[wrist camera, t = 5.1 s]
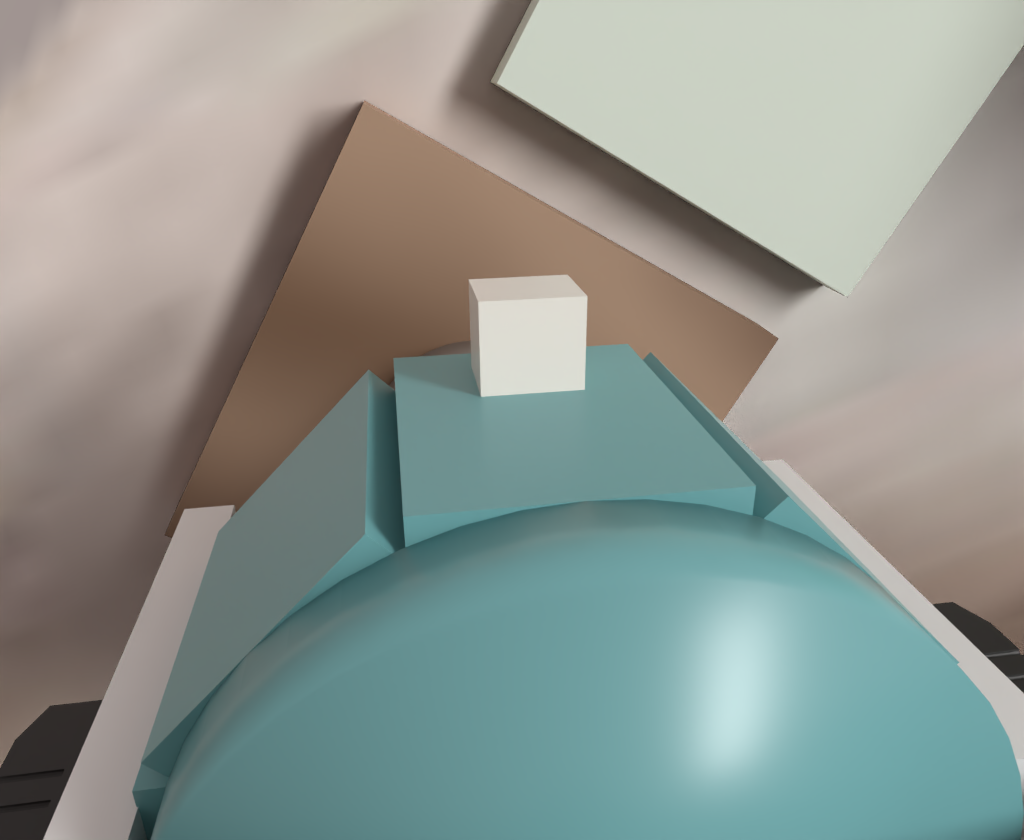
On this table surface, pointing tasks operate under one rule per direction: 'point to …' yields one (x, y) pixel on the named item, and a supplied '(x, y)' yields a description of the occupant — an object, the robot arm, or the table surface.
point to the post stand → (437, 298)
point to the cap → (554, 628)
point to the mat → (772, 105)
